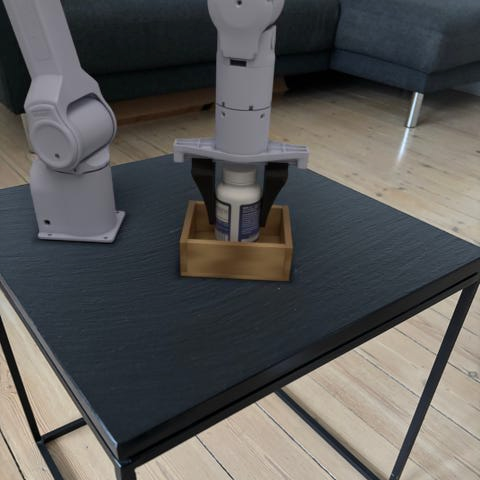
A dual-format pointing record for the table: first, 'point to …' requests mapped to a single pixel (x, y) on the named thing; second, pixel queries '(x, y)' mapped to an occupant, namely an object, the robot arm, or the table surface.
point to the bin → (236, 248)
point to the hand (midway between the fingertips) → (237, 222)
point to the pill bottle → (238, 204)
